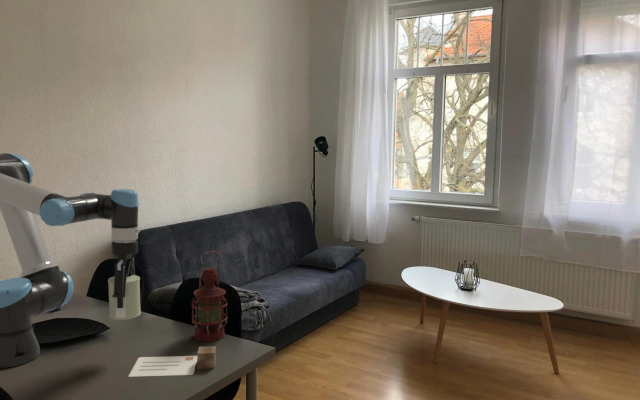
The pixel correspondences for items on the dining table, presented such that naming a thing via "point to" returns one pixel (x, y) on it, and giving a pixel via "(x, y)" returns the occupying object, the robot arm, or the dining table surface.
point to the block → (206, 357)
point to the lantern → (209, 306)
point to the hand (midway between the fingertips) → (125, 312)
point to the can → (131, 298)
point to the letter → (164, 366)
